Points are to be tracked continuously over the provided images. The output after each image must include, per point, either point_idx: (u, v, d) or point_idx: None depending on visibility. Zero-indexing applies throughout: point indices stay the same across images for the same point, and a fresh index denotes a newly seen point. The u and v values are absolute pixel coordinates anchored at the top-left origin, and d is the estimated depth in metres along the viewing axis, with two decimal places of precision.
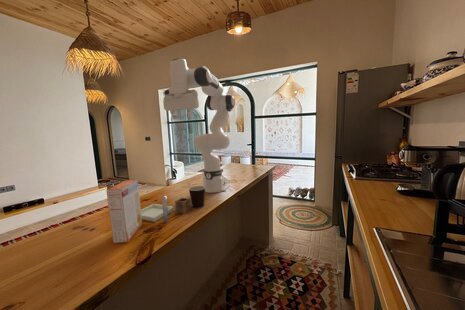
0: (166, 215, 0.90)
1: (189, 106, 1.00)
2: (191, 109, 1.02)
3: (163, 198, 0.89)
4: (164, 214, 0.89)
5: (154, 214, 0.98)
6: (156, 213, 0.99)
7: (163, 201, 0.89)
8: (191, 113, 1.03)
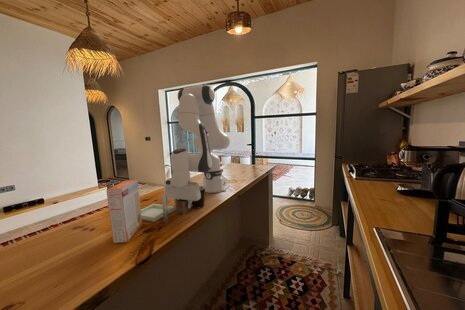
0: (166, 215, 0.90)
1: (191, 199, 0.98)
2: None
3: (163, 198, 0.89)
4: (164, 214, 0.89)
5: (154, 214, 0.98)
6: (156, 213, 0.99)
7: (163, 201, 0.89)
8: None
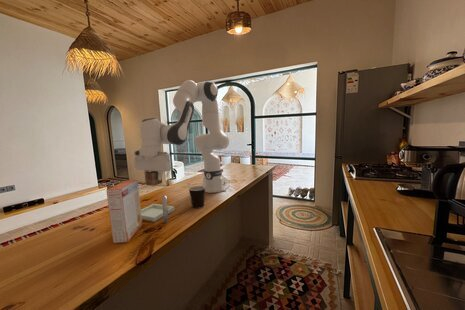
0: (166, 215, 0.90)
1: (160, 170, 0.93)
2: (161, 172, 0.95)
3: (163, 198, 0.89)
4: (164, 214, 0.89)
5: (154, 214, 0.98)
6: (156, 213, 0.99)
7: (163, 201, 0.89)
8: (161, 175, 0.97)
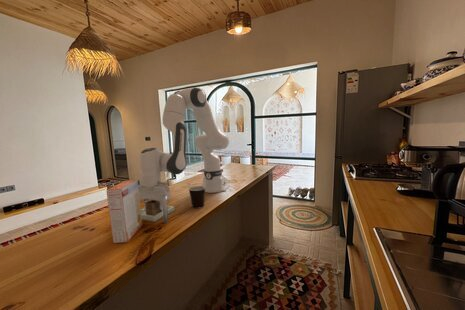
0: (166, 215, 0.90)
1: (160, 200, 0.95)
2: None
3: (163, 198, 0.89)
4: (164, 214, 0.89)
5: None
6: None
7: (163, 201, 0.89)
8: None
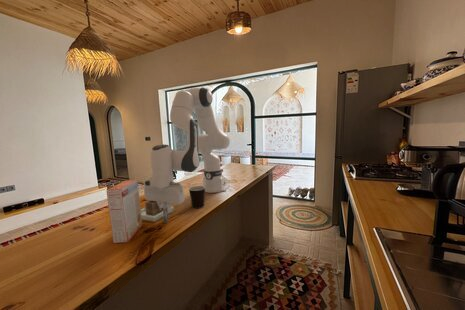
0: (166, 215, 0.90)
1: (173, 202, 0.85)
2: (170, 203, 0.88)
3: None
4: (164, 214, 0.89)
5: None
6: None
7: None
8: (170, 206, 0.90)
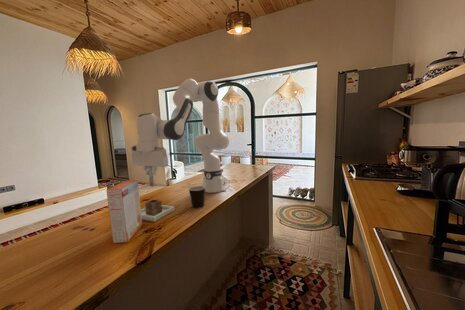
0: (151, 179, 0.97)
1: (157, 165, 0.93)
2: (155, 167, 0.96)
3: None
4: (150, 178, 0.97)
5: None
6: None
7: (149, 166, 0.96)
8: None
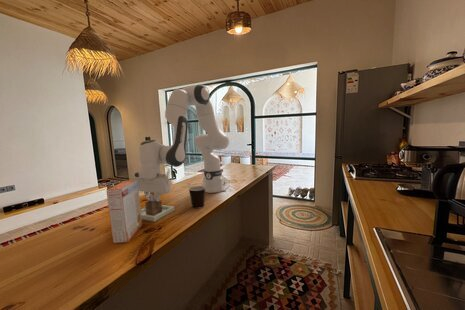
0: None
1: (159, 192, 0.94)
2: (159, 193, 0.97)
3: None
4: None
5: None
6: None
7: (151, 194, 0.98)
8: (159, 196, 0.98)
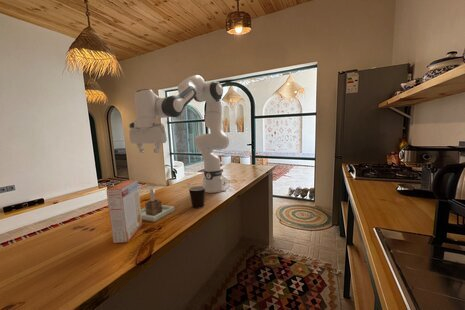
0: None
1: (155, 141, 0.92)
2: (158, 144, 0.93)
3: (151, 191, 0.98)
4: None
5: None
6: None
7: (151, 194, 0.98)
8: None
